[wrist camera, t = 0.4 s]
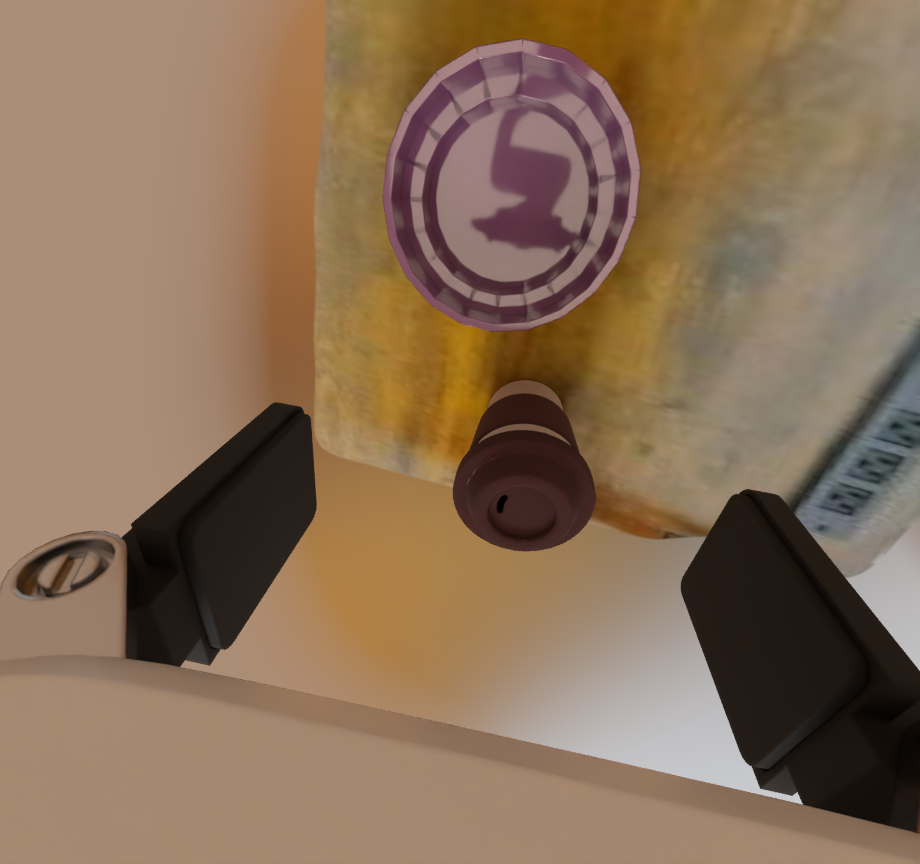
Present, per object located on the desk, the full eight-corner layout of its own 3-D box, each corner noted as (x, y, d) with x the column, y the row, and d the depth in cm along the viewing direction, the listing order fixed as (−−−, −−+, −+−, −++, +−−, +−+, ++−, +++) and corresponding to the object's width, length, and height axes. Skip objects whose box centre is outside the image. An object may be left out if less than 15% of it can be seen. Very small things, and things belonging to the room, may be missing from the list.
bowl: (531, -4, 26) (531, -49, 21) (664, 215, 31) (690, 221, 26) (364, 193, 33) (334, 195, 28) (494, 347, 38) (489, 372, 33)
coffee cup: (598, 418, 40) (630, 528, 27) (518, 471, 45) (513, 586, 32) (532, 342, 37) (532, 425, 25) (453, 406, 42) (419, 505, 29)
